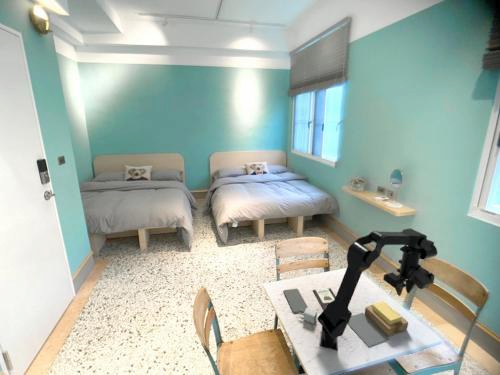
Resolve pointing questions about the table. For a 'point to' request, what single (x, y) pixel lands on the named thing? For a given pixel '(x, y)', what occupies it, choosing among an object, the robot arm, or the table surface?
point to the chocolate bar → (324, 296)
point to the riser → (383, 325)
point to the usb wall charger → (309, 315)
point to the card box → (387, 312)
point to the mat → (367, 330)
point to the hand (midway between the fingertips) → (403, 293)
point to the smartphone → (295, 300)
